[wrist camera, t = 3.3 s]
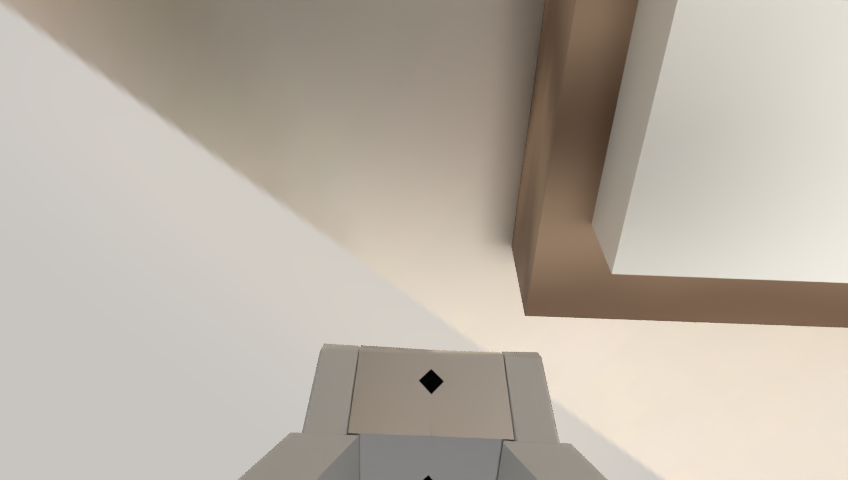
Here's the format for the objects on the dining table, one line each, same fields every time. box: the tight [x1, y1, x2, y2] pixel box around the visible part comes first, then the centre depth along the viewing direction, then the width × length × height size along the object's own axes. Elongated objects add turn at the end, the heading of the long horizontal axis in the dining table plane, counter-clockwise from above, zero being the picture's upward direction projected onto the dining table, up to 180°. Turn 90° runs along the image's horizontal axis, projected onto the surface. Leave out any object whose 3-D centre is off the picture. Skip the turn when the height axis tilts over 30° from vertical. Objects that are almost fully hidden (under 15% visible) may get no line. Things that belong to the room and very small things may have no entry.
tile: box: [592, 0, 848, 283], centre depth 16 cm, size 7×9×2 cm
